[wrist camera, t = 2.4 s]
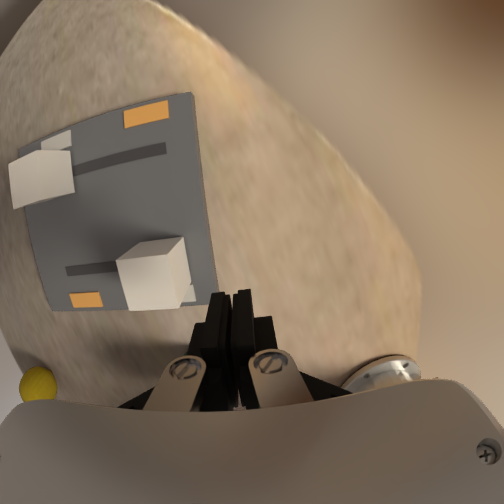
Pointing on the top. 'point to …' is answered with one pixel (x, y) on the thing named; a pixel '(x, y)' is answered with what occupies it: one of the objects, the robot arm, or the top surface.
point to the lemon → (37, 385)
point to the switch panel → (123, 203)
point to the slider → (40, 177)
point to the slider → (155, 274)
